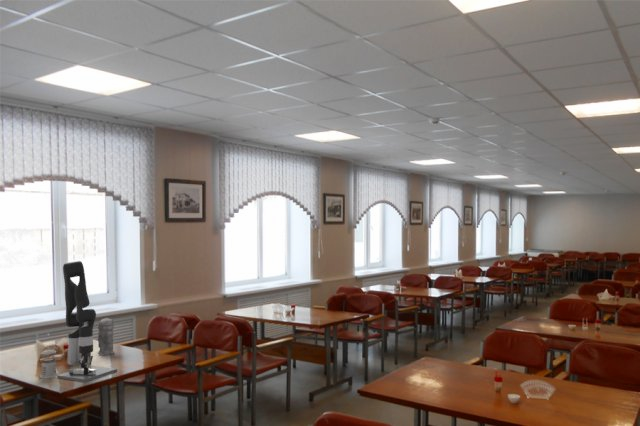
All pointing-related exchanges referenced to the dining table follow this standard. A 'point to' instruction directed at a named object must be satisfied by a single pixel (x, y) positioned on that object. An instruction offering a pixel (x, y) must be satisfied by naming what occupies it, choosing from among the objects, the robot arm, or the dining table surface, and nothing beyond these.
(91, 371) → the bar
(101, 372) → the jamb plate
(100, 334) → the figurine
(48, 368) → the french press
